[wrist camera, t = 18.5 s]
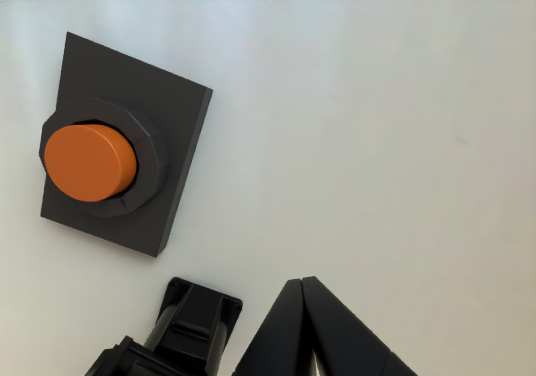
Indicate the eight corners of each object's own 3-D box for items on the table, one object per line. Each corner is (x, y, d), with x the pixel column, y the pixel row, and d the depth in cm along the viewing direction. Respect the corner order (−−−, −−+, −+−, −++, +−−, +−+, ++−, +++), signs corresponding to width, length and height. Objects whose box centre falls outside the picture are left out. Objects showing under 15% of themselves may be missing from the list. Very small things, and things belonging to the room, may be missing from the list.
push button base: (165, 247, 21) (144, 271, 18) (58, 208, 21) (15, 226, 17) (213, 89, 18) (197, 83, 14) (86, 39, 17) (40, 20, 14)
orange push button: (128, 203, 17) (112, 212, 15) (63, 179, 17) (38, 186, 15) (144, 140, 16) (127, 142, 14) (74, 113, 15) (49, 112, 14)
